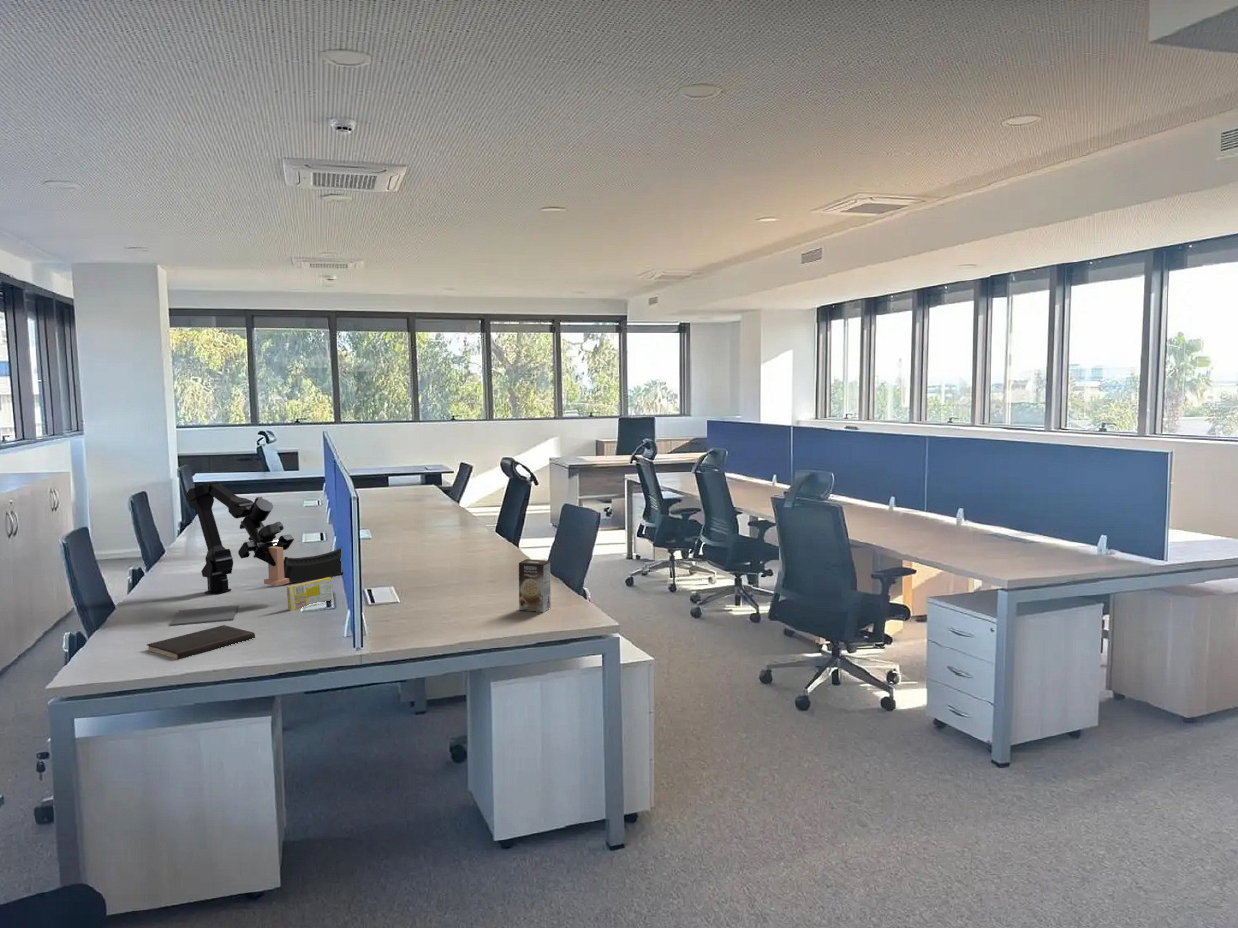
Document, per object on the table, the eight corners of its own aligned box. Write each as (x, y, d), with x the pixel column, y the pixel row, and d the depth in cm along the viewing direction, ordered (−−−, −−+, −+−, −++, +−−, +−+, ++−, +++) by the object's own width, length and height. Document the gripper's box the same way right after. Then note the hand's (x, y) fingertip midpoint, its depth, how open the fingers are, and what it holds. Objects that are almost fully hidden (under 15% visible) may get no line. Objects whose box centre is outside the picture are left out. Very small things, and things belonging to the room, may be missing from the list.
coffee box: (518, 610, 275) (517, 562, 273) (526, 606, 281) (525, 558, 279) (543, 612, 272) (542, 564, 270) (551, 608, 278) (551, 560, 276)
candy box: (329, 600, 292) (328, 576, 291) (333, 601, 291) (332, 577, 290) (287, 610, 279) (286, 586, 278) (291, 611, 278) (289, 586, 277)
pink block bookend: (264, 583, 287) (262, 547, 286) (277, 580, 292) (275, 545, 290) (276, 585, 284) (274, 549, 283) (289, 582, 288) (287, 546, 287)
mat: (179, 611, 278) (179, 610, 278) (238, 606, 284) (238, 605, 284) (169, 625, 261) (169, 624, 261) (233, 619, 267) (233, 618, 267)
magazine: (274, 563, 311) (344, 530, 332) (270, 562, 314) (340, 529, 334) (289, 604, 316) (357, 569, 337) (285, 602, 319) (353, 568, 339)
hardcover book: (147, 652, 236) (146, 644, 236) (224, 632, 256) (223, 624, 255) (178, 661, 228) (177, 653, 227) (255, 640, 247) (255, 632, 246)
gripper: (241, 518, 280) (264, 554, 275) (289, 511, 296) (311, 545, 291) (228, 540, 284) (250, 575, 280) (276, 531, 300) (297, 565, 296)
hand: (278, 564), depth 286 cm, fingers closed on pink block bookend, 2 cm apart
